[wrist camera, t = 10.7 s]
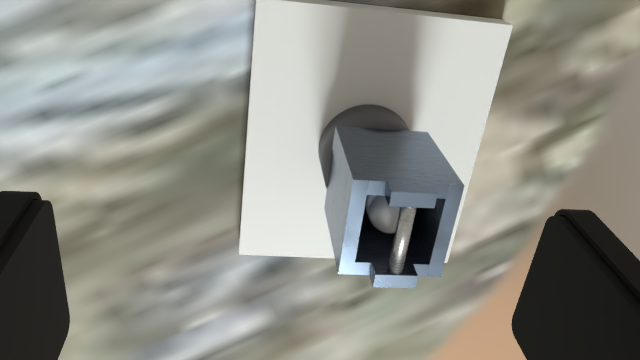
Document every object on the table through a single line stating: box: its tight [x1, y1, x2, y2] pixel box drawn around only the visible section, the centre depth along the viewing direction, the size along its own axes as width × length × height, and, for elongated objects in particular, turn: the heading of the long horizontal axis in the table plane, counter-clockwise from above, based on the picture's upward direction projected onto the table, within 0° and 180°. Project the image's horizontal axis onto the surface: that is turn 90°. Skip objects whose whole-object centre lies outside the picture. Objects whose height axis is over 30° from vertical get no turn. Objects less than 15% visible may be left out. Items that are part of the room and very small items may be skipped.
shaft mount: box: [239, 0, 513, 263], centre depth 30 cm, size 16×14×10 cm
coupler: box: [324, 126, 464, 288], centre depth 28 cm, size 5×5×7 cm
